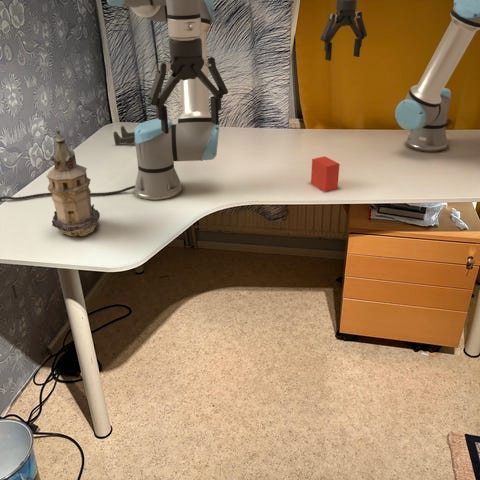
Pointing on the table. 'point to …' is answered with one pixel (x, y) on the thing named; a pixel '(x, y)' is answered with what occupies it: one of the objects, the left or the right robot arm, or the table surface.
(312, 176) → the block
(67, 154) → the miniature building
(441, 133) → the right robot arm
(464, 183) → the table surface
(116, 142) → the toy
